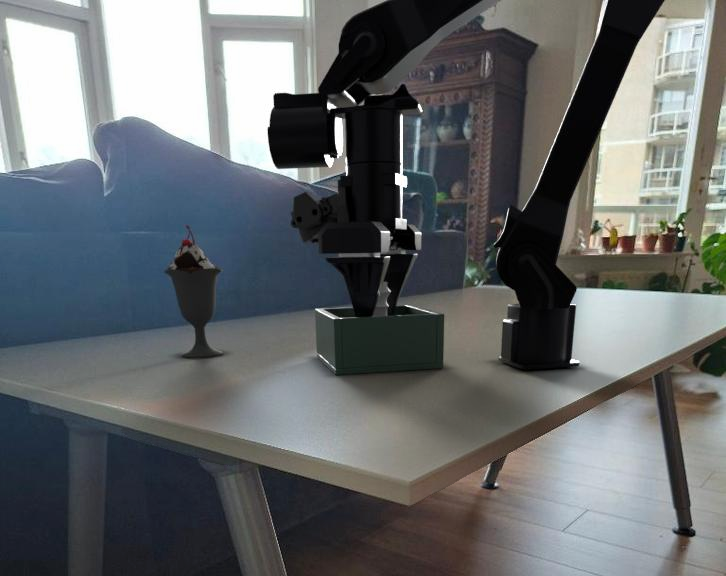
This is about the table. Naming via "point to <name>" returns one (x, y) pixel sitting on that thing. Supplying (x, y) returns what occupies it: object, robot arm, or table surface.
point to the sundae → (195, 292)
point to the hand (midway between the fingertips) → (375, 322)
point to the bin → (379, 340)
